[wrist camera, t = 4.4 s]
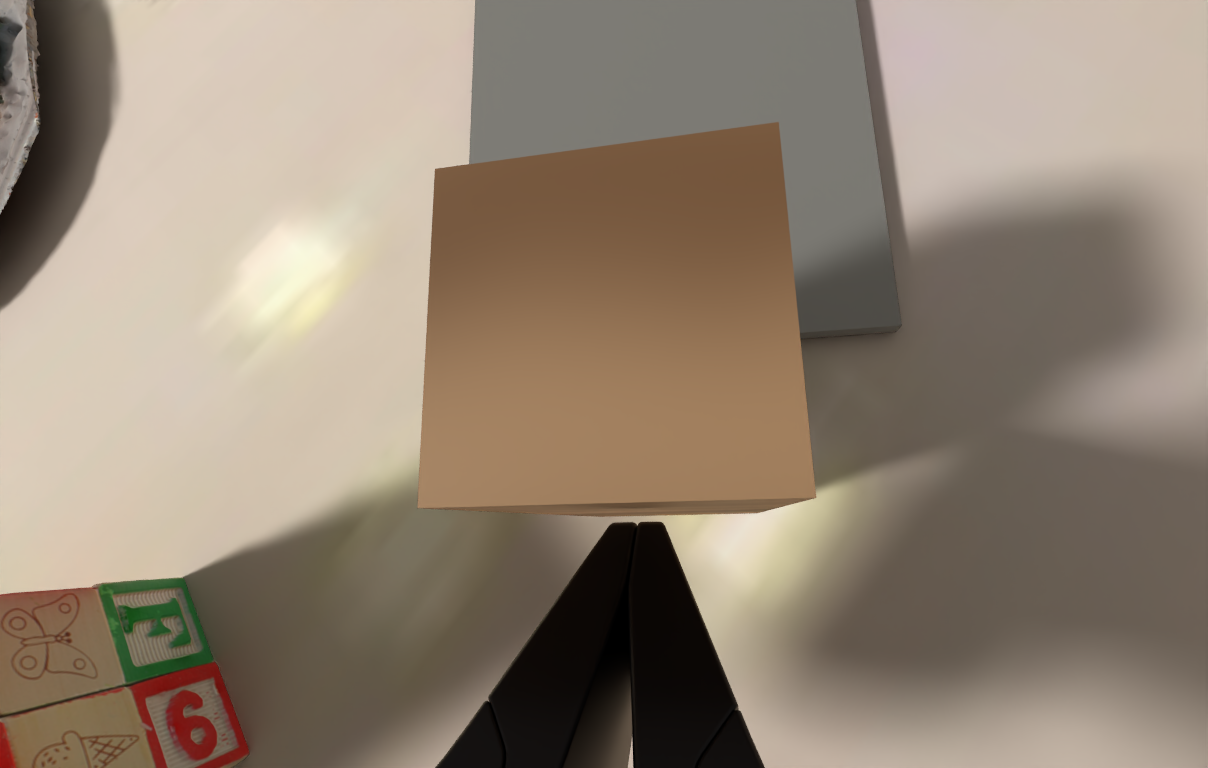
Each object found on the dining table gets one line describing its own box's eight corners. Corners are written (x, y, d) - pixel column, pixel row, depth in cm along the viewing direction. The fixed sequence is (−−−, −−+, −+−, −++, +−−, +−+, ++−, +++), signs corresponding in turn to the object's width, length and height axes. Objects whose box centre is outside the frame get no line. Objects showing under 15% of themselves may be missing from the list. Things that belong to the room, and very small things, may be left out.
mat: (895, 331, 17) (901, 325, 16) (469, 362, 19) (462, 358, 19) (835, -106, 21) (838, -123, 20) (483, -35, 23) (477, -49, 23)
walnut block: (757, 513, 17) (815, 498, 6) (600, 516, 18) (417, 508, 7) (745, 359, 18) (778, 122, 7) (597, 368, 19) (435, 169, 8)
